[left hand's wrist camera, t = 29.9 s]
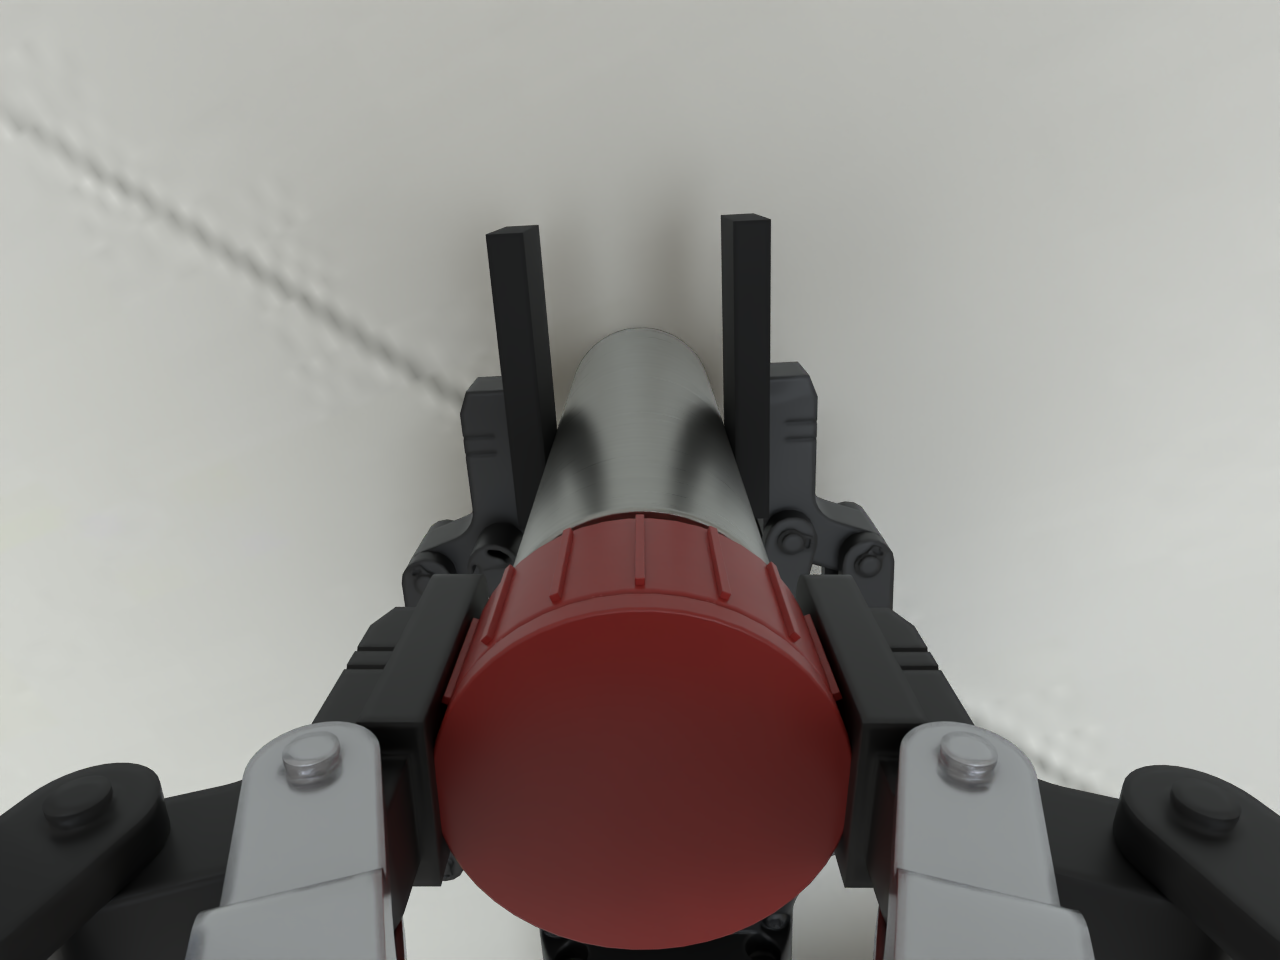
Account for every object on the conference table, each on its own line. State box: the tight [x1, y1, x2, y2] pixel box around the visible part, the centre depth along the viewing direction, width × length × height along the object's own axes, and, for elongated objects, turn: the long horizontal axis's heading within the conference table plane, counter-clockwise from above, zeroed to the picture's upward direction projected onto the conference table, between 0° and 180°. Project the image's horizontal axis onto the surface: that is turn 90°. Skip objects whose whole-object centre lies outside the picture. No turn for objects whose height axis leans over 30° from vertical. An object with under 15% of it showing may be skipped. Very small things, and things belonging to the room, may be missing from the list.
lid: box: [434, 514, 852, 950], centre depth 10 cm, size 5×5×2 cm
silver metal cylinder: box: [513, 328, 769, 567], centre depth 18 cm, size 4×4×16 cm
